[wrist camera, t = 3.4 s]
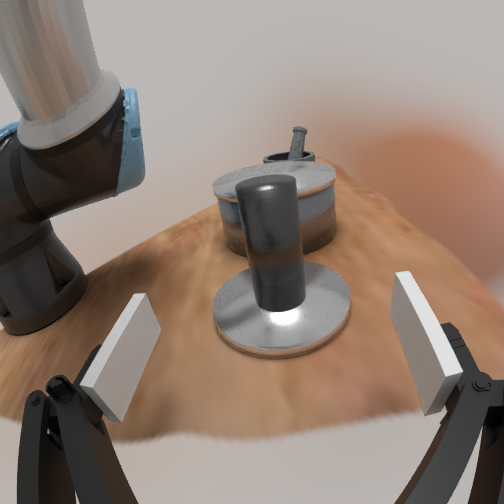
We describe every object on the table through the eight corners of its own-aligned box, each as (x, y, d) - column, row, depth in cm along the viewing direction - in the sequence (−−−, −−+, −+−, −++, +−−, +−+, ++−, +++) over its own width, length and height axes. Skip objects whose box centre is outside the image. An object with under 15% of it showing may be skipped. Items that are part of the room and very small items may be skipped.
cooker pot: (203, 238, 42) (191, 185, 39) (283, 203, 50) (276, 158, 46) (277, 276, 31) (267, 203, 27) (360, 224, 38) (359, 167, 35)
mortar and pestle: (299, 201, 50) (291, 132, 45) (258, 196, 56) (248, 134, 50) (329, 183, 57) (323, 124, 52) (290, 180, 63) (283, 126, 57)
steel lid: (193, 312, 28) (158, 197, 22) (284, 260, 34) (271, 159, 28) (276, 386, 19) (250, 232, 13) (375, 301, 25) (381, 173, 19)
